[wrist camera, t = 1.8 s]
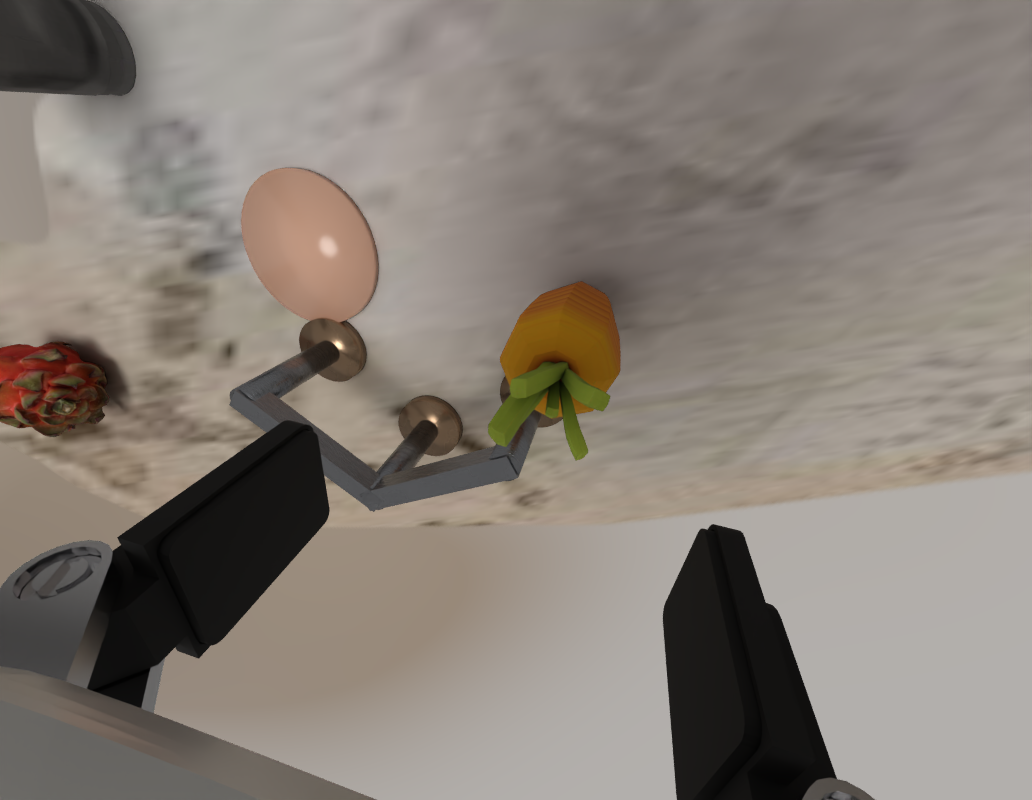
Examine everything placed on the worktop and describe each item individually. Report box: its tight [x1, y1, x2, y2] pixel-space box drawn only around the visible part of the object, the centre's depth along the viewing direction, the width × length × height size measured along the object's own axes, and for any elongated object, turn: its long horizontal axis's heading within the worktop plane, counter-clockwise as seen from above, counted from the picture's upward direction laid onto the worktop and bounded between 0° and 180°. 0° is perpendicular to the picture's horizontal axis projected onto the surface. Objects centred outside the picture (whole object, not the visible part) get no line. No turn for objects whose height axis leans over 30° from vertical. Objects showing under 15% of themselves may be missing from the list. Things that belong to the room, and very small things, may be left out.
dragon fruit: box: [0, 342, 109, 437], centre depth 38 cm, size 8×8×12 cm
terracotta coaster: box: [241, 168, 378, 322], centre depth 28 cm, size 10×10×1 cm
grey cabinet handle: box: [229, 318, 563, 512], centre depth 28 cm, size 21×10×9 cm, turn 84°
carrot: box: [488, 282, 620, 460], centre depth 19 cm, size 5×5×15 cm
